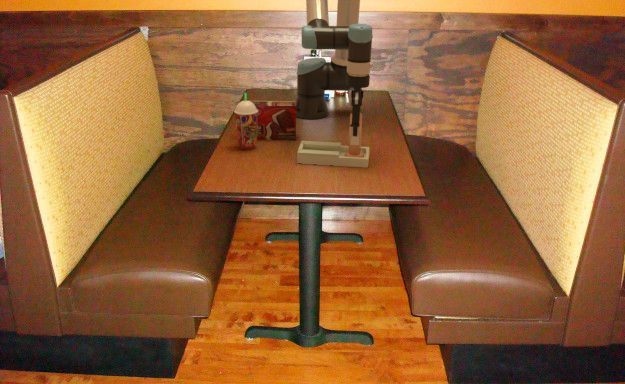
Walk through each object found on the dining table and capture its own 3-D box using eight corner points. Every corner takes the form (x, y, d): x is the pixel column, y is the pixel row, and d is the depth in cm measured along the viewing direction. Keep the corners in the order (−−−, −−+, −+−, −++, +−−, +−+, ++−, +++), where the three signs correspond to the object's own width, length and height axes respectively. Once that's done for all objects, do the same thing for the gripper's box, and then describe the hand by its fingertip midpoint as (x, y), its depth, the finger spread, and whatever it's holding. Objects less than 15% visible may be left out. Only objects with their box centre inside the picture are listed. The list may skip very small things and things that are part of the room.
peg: (345, 152, 204) (347, 110, 198) (363, 153, 203) (366, 111, 197) (344, 159, 198) (345, 116, 192) (363, 160, 197) (365, 117, 191)
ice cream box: (295, 134, 225) (295, 101, 219) (295, 140, 219) (296, 106, 214) (243, 134, 224) (242, 100, 219) (242, 140, 218) (241, 105, 213)
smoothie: (255, 152, 207) (253, 97, 198) (232, 150, 208) (230, 95, 200) (261, 144, 214) (260, 90, 206) (239, 142, 216) (237, 89, 207)
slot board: (301, 151, 208) (301, 140, 207) (368, 155, 206) (369, 144, 205) (297, 163, 198) (297, 152, 196) (368, 167, 195) (368, 156, 194)
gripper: (369, 80, 181) (365, 151, 190) (370, 68, 196) (366, 134, 206) (345, 79, 181) (342, 150, 191) (348, 67, 197) (345, 133, 207)
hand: (354, 142), depth 198 cm, fingers closed on peg, 4 cm apart
